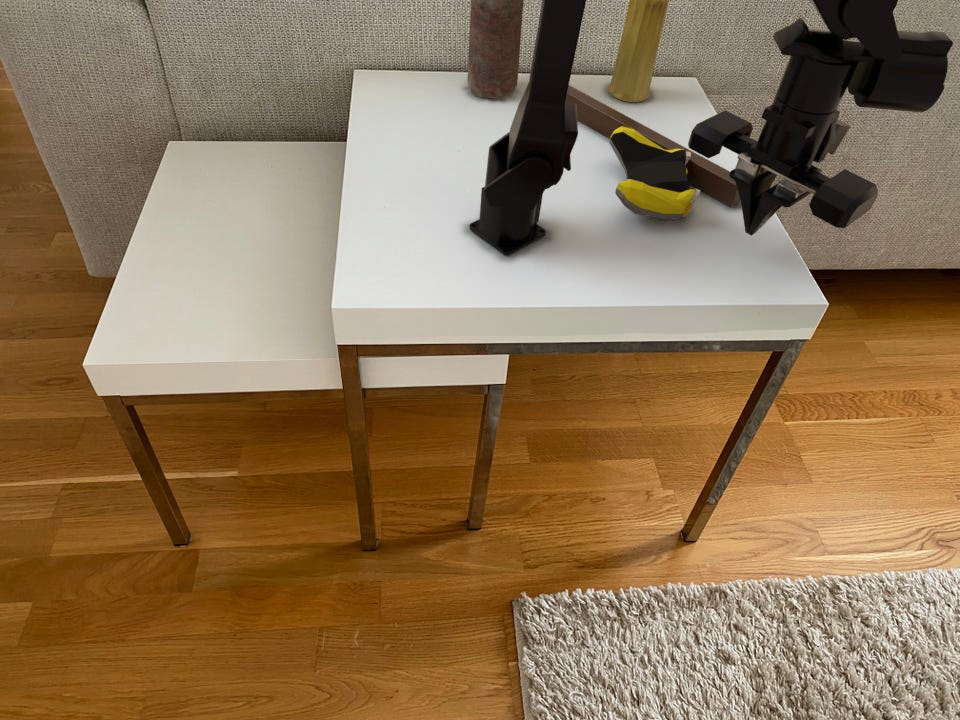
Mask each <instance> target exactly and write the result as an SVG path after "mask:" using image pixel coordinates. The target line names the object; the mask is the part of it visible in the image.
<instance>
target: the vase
mask: <svg viewBox="0 0 960 720" xmlns="http://www.w3.org/2000/svg"><path fill="white" fill-rule="evenodd" d="M669 3H670V0H629V3H628V7H627V10H626V16H625V20H624V25H623V30H622V33H621V36H620V37H621V38H620V40H619V41H620V42H619V45H618V49H617V54H616V58H615V62H614V68H613V73H612V76H611V80H610V83H609V86H608V92H609V94H610V95H611V96H612V97H613V98H615V99H617V100H620V101H623V102H628V103H641V102H644V101H645V100H647V99H649V97H650V92H651V91H650V90H651V84H652V81H653V74H654V69H655V63H656V60H657V56H658V51H659V46H660V43H661V37H662V34H663V29H664V25H665V20H666V18H667V17H666V16H667V13H668V7H669Z"/></svg>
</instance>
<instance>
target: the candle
mask: <svg viewBox="0 0 960 720" xmlns="http://www.w3.org/2000/svg"><path fill="white" fill-rule="evenodd" d="M524 2H525V1H524V0H470V15H469V18H470V19H469V37H468V57H467V58H468V59H467V85H468V87H469V90H470V92H471V93H472V95H474V96H476V97H479V98H488V99H489V98H490V99H496V98H498V97H500V96H504V95H508V94H511V93H512V92H514V91H515V90H516V88H517V86H518V80H519V67H520V53H521V43H522V42H521V41H522V28H523V27H522V26H523V13H524Z"/></svg>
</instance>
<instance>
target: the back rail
mask: <svg viewBox="0 0 960 720" xmlns="http://www.w3.org/2000/svg"><path fill="white" fill-rule="evenodd" d="M565 104H576V105H577V122H578V123H581V124H583V125H585V126H586V127H588V128H590V129H592V130H594V131H595V132H597V133H599V134H600V135H602V136H604V137H606V138H607V139H609V140H610V138H611V135H612V134H613V132H614V130H616V129H618V128H619V127H621V126H623V127H627V128H631V129H634V130H635V131H637V132H638V133H640V134H641V135H643V136H644V137H646V138H647V139H648V140H650V141H651V142H653V143H655V144H656V145H658V146H659V147H661V148H663V149H664V150H673V149H684V150H686V151H688V152H691V157H690V158H689V160H688V162H687V164H686V166H685V167H686V168H687V170H688V173H687V179H688V183H689V185H691V186H692V187H693V188H695V189H698V190H700V191H701V192H703V193H705V194H706V195H708V196H710V197H712V198H713V199H715V200H717V201H719V202H721V203H722V204H724V205H726V206H728V207H730V208H732V207H733V206H735V205H737V204H738V203H741V201H740V197H739V193H738V190H737V186H736V182H735V180H733V179H732V178H730V176H729V175H730V172H731V170H728V169H726V168H724V167H723V166H721V165H718V164H717V163H714V161H711V160H709V159H708V158H707V157H705V156H703V155H701V154H699V153H697V152H695V151H694V150H692V149H690V148H687V147H685V146H683V145H682V144H679V143H678V142H675V140H672V139H670V138H668V137H667V136H665V135H663V134H661V133H659V132H657V131H656V130H653V129H652V128H650V127H649V126H646V125H644V124H643V123H640V122H638V121H636V120H635V119H633V118H631V117H629V116H628V115H626V114H623V113H622V112H620V111H618V110H616V109H614V108H612V107H611V106H609V105H607V104H606V103H603V102H602V101H600V100H598V99H596V98H594V97H592V96H590V95H589V94H586V93H585V92H583V91H581V90H579V89H577V88H575V87H573V86H572V85H570V84H569V86H568V90H567V95H566V100H565Z"/></svg>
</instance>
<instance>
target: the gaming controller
mask: <svg viewBox="0 0 960 720" xmlns="http://www.w3.org/2000/svg"><path fill="white" fill-rule="evenodd" d="M608 144H609V145H610V147H611V149H612V150H613V153H614V154H615V156H616V158H617V160H618V161H619V164H620V165H621V167H622V169H623V171H624V174H625V178H626V180H624V181H621V182H618V184H617V186H616V188H615V191H614V193H615V196H616V197H617V198H618V200H619V201H620V202H621V203H622V205H623V206H624V207H625V208H627V209H628V210H629V211H631V212H632V213H633V214H634V215H638V216H646V217H653V218H657V219H658V220H662V221H665V222H669V221H674V220H675V219H683V218H684V217H686V216H688V215H689V214H690V212H691V210H692V207H693V205H694V202H695V200H696V198H697V197H698V196H699V195H700V193H701V192H702V191H701V190H699V189H698V188H696V187H690V184H689V183H688V179H687V173H688V170H687V168H686V167H685V166H686V164H687V162H688V160H689V158H690V157H691V152H688V151H686V150H684V149H673V150H664V149H663V148H661V147H659V146H658V145H656V144H655V143H653V142H651V141H650V140H648V139H647V138H646V137H644V136H643V135H641V134H640V133H638V132H637V131H635V130H634V129H631V128H627V127H623V126H621V127H619V128H618V129H616V130H614V132H613V134H612V135H611V138H610V139H609V143H608Z"/></svg>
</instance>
